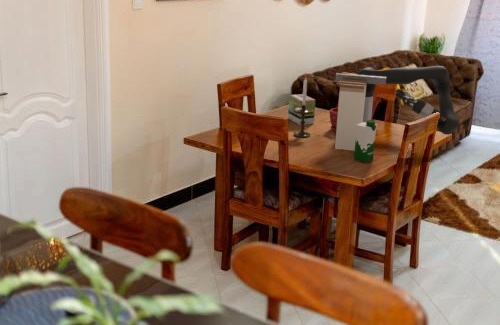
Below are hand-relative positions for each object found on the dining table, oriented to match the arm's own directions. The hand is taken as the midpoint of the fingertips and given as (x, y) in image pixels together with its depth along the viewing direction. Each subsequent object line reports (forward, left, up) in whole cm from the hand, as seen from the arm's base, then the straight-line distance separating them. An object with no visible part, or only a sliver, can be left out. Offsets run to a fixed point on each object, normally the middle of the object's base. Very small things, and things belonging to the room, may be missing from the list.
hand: (396, 91), depth 353 cm
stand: (-9, -21, -28) cm, 37 cm away
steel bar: (-12, -15, +4) cm, 19 cm away
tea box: (-56, -23, -29) cm, 67 cm away
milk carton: (+17, -29, -29) cm, 45 cm away
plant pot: (-32, -11, -29) cm, 44 cm away
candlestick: (-30, -37, -29) cm, 56 cm away
